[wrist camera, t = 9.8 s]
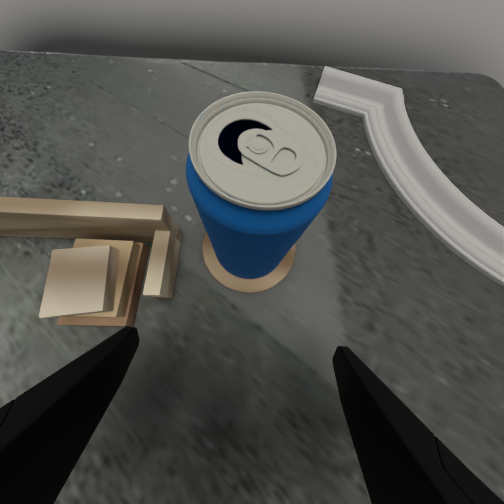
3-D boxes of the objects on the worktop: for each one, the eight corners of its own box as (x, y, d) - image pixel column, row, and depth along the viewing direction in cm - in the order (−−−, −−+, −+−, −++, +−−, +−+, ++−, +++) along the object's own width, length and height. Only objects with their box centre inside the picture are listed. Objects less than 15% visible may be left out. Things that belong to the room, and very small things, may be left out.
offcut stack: (133, 325, 16) (105, 328, 13) (69, 323, 16) (23, 326, 13) (149, 247, 19) (128, 232, 15) (92, 244, 18) (58, 228, 15)
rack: (172, 298, 17) (147, 292, 12) (-43, 292, 16) (-158, 283, 12) (182, 232, 19) (163, 205, 14) (-9, 223, 18) (-96, 191, 14)
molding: (296, 89, 28) (302, 65, 25) (364, 69, 30) (376, 44, 27) (533, 402, 17) (589, 420, 14) (613, 337, 19) (676, 341, 16)
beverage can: (240, 206, 20) (240, 63, 9) (294, 239, 19) (372, 129, 8) (201, 256, 18) (137, 157, 7) (259, 294, 17) (297, 255, 6)
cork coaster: (296, 294, 18) (297, 293, 18) (198, 291, 18) (197, 290, 17) (292, 209, 21) (293, 207, 20) (207, 204, 20) (207, 202, 20)
